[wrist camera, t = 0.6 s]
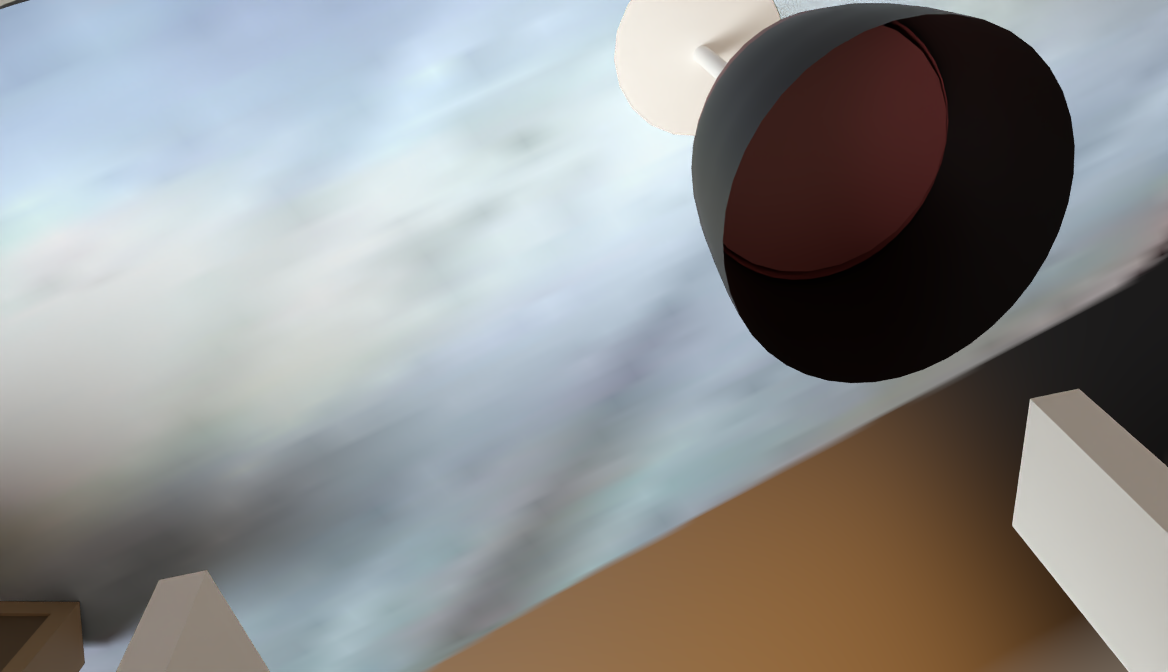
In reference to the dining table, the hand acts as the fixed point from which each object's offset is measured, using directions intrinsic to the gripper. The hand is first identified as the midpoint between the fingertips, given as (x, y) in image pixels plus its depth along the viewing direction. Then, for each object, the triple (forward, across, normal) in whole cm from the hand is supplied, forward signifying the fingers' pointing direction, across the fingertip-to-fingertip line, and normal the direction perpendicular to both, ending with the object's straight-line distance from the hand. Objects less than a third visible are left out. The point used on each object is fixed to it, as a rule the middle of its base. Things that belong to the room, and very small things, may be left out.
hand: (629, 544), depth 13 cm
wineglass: (+27, +7, +1) cm, 28 cm away
